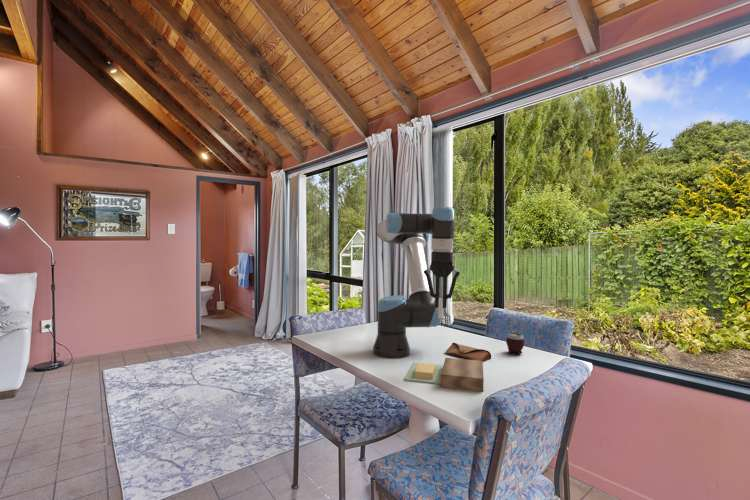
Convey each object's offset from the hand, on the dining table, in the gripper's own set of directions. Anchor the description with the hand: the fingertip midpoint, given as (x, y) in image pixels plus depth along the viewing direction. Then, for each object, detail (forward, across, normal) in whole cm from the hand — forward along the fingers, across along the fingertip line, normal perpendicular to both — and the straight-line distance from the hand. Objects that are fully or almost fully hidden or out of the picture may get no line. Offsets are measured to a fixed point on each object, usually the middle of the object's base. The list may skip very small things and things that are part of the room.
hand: (440, 317), depth 134 cm
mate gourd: (+20, +29, +31) cm, 47 cm away
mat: (+19, -4, -4) cm, 20 cm away
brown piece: (+19, +8, -6) cm, 22 cm away
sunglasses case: (+21, +9, +20) cm, 30 cm away
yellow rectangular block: (+17, -4, -6) cm, 18 cm away
